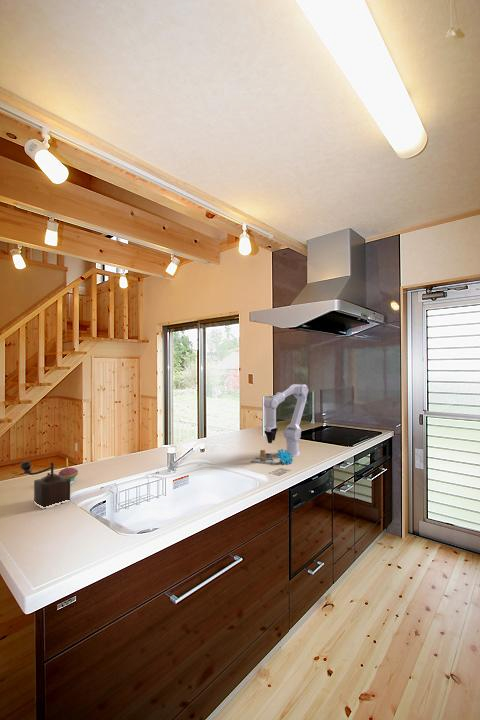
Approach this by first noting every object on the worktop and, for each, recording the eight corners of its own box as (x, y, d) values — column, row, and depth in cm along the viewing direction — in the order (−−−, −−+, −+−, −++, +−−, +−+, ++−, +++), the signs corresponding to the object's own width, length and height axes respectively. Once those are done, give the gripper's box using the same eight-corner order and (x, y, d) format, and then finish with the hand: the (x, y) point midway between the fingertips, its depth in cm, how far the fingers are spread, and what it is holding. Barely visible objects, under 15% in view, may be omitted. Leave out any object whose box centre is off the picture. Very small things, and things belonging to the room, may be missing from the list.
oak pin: (261, 460, 199) (261, 449, 199) (266, 460, 198) (266, 450, 198) (259, 461, 196) (259, 451, 196) (265, 461, 195) (264, 451, 195)
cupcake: (55, 483, 163) (55, 458, 164) (73, 478, 170) (73, 454, 170) (62, 487, 158) (62, 461, 158) (81, 482, 164) (81, 457, 164)
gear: (281, 463, 187) (275, 447, 194) (276, 469, 190) (270, 453, 197) (297, 463, 192) (291, 448, 199) (292, 469, 196) (286, 454, 202)
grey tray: (255, 459, 203) (255, 457, 203) (274, 460, 199) (274, 458, 199) (251, 462, 195) (251, 460, 195) (271, 464, 191) (271, 462, 191)
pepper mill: (59, 495, 148) (59, 453, 148) (71, 501, 141) (71, 457, 141) (18, 507, 136) (18, 461, 136) (29, 514, 129) (29, 466, 129)
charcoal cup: (263, 456, 209) (263, 453, 209) (273, 457, 207) (273, 453, 207) (261, 458, 203) (261, 455, 203) (271, 459, 201) (271, 456, 201)
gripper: (267, 416, 211) (267, 438, 211) (261, 420, 197) (261, 444, 197) (278, 417, 209) (278, 439, 208) (273, 420, 195) (273, 444, 195)
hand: (271, 441), depth 202 cm, fingers open, 7 cm apart
